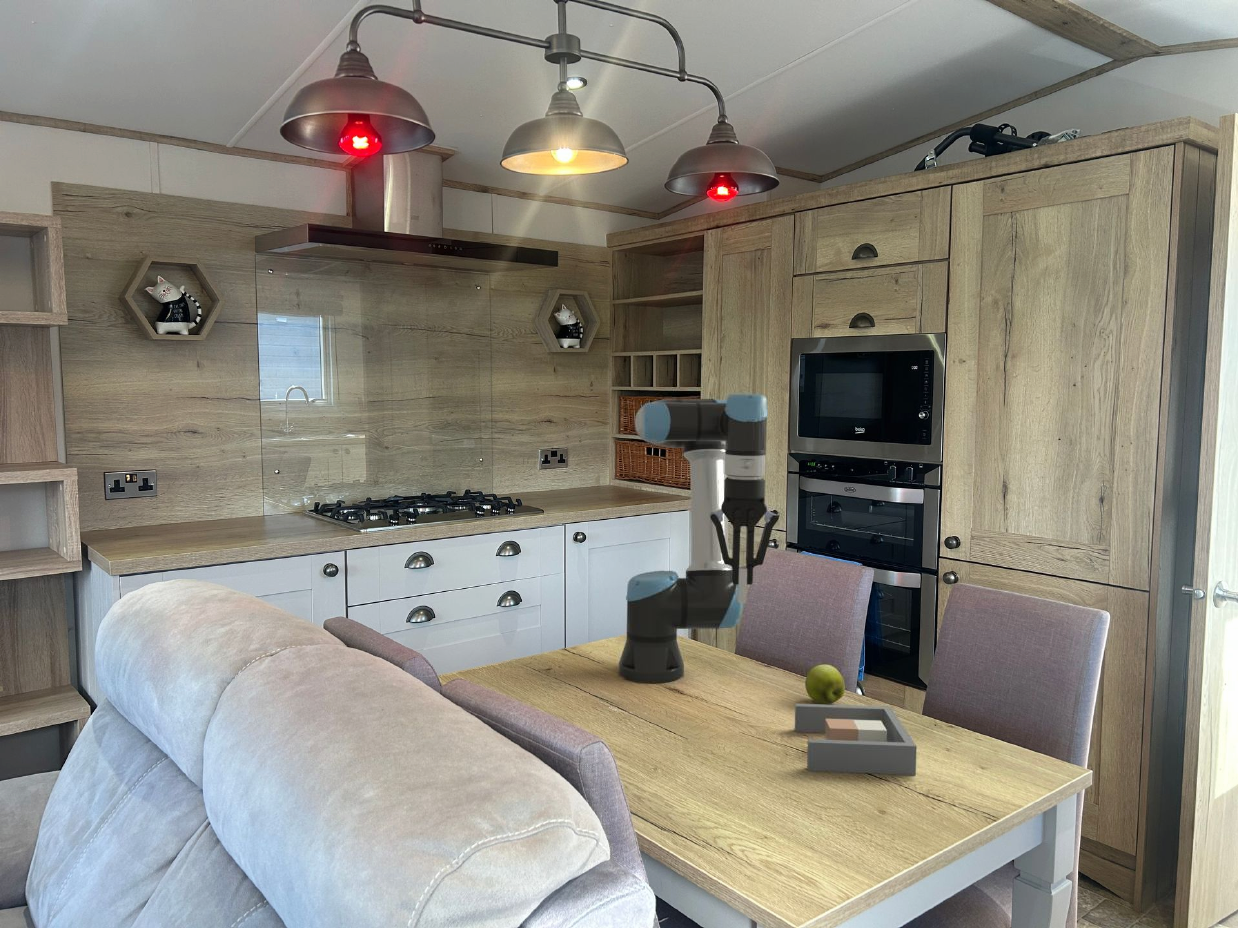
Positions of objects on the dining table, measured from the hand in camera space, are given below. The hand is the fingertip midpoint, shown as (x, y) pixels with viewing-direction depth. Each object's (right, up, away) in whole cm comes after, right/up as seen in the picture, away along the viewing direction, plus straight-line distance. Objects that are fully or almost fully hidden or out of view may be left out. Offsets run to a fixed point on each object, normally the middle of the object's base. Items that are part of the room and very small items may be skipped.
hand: (741, 600), depth 172 cm
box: (+19, -26, -7) cm, 33 cm away
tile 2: (+22, -26, -7) cm, 35 cm away
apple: (+20, -25, +19) cm, 37 cm away
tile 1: (+17, -26, -7) cm, 32 cm away
